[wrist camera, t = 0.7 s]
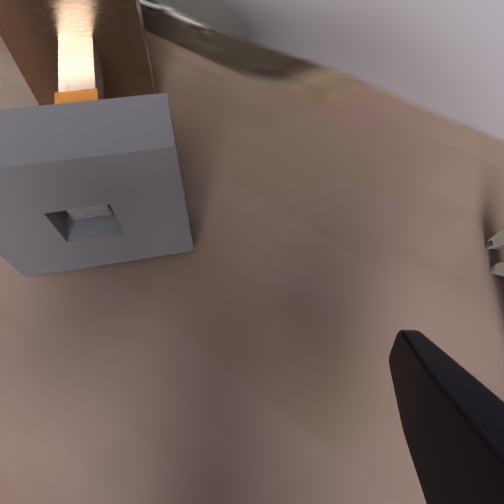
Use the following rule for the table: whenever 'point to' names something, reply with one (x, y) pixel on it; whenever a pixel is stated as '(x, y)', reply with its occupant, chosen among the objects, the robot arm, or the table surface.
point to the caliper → (497, 243)
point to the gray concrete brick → (90, 184)
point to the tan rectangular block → (79, 53)
